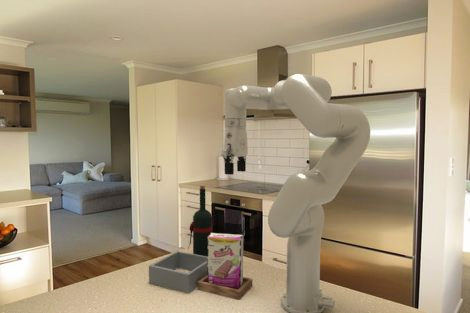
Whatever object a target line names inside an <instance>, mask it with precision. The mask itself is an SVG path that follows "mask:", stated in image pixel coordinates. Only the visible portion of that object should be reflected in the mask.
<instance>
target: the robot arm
mask: <svg viewBox="0 0 470 313" xmlns="http://www.w3.org/2000/svg"><path fill="white" fill-rule="evenodd" d="M332 91H333V90H332V87H331V84H330V83H329V81H327V80H326V79H325V78H323V77H320V76H316V75H311V74H310V75H309V74H306V73H305V74H304V73H295V74H292V75H290V76H289V77H287V78H286V79H283V80H280V81H278V82H277V83H276V84H275V85H274V86H272V87H264V86H263V87H262V86H255V85H247V84H244V85H240V86H237V87H235V88H232V87H231V88H227V89H226V90H225V92H224V129H225V131H224V132H225V133H224V146H223V149H222V151H221V152H222V159H223V163H224V174H225V175H232V176H233V175H234V173H235V172H234V169H235V167H234V166H235V164H234V160H235V157H236V158H237V159H238V160H236V167H237V168H236V171H237V172H246V171H247V170H246V164H247V162H246V161H247V155H248V153H249V152H248V151H249V150H248V148H249V147H248V133H247V109H248V110H262V111H263V110H264V111H265V110H266V111H267V110H270V111H271V110H290V111H291V113H293V115H294V116H295V118H297V119H298V121H299V122H300V123H301V124H302V125H303V127H304V128H305V129H306V130H307V131H308V132H309V133H310V134H311V135H312V136H314V137H317V138H320V139H321V138H323V139H327V138H328V139H329V138H331V139H332V138H335V139H334V141H333V142H332V143H331V144H330V145H329V146H328V147H327V148H326V149H325V150H324V151H323V153H322V155H321V157H320V158H319V160H318V162H317V163H316V165H315V166H314V167H312V169H308V170H301V171H297V172H295V173H293V174H291V175H290V176H289V177H288V178H287V179H286V181H285V182H284V184H283V185H282V186H281V189H280V190H279V192H278V194H277V195H276V197H275V199H274V200H273V203H272V204H271V206H270V209H269V210H268V211H269V212H268V214H267V215H268V217H267V224H268V227H269V229H270V231H271V233H272V234H274V235H275V236H276V237H279V238H281V239H286V238H288V239H287V244H286V281H285V282H286V284H285V285H286V288H285V289H286V293H285V294H283V295H282V296H281V298H280V304H281V307H282V308H283V309H284V310H285V311H287V312H288V313H322V312H323V311H324V310H325V307H327V308H332V309H335V305H336V304H335V303H336V302H335V300H333V297H332V296H327V295H324V294H323V289H321V288H320V287H321V286H320V283H321V282H320V280H321V278H320V277H321V247H322V246H321V244H322V243H321V241H322V233H323V229H324V224H325V211H324V207H323V205H325V204H328V203H330V202H332V201H333V200H334V199H335V198H336V196H337V195H338V193H339V191H340V190H341V189H342V187H343V186H344V184H345V183H346V181H347V179H348V178H349V176H350V174H351V173H352V171H353V169H354V168H355V166H356V165H357V164H358V163H359V161H360V160H361V158H362V157H363V155H364V154H365V151H366V150H367V148H368V146H369V143H370V140H371V139H370V138H371V126H370V122H369V119H368V117H367V116H366V114H365V113H364V111H362V110H361V109H360V108H358V107H356V106H353V105H349V104H344V103H330V102H329V101H330V99H331V97H332V93H333V92H332Z"/></svg>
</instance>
